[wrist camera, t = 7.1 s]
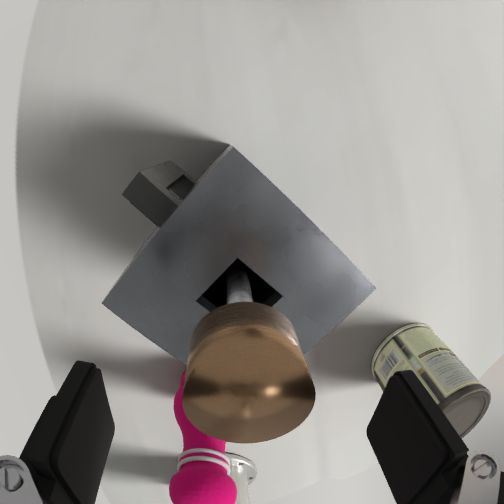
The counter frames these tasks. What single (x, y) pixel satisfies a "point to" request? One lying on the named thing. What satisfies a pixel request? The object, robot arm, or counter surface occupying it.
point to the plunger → (246, 369)
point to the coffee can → (433, 374)
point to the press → (229, 255)
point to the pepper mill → (200, 465)
